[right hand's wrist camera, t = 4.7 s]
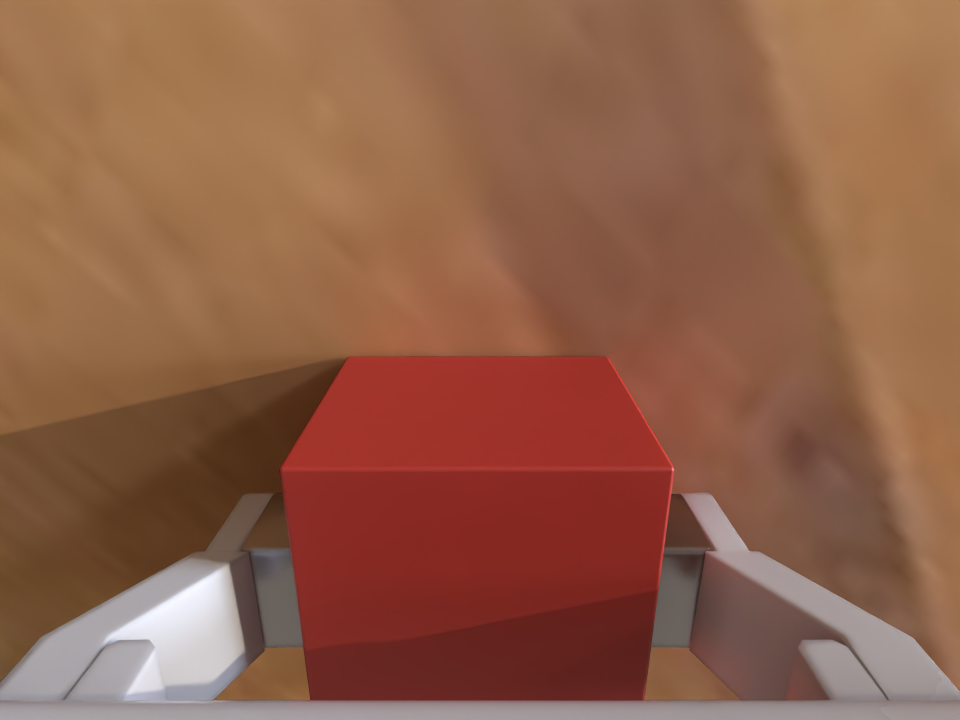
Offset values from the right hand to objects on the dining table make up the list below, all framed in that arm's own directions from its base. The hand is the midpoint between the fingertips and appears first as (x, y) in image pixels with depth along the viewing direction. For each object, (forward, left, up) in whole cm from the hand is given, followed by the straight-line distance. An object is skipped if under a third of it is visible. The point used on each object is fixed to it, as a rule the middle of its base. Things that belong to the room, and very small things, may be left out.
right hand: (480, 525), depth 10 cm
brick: (0, 0, -2) cm, 2 cm away
